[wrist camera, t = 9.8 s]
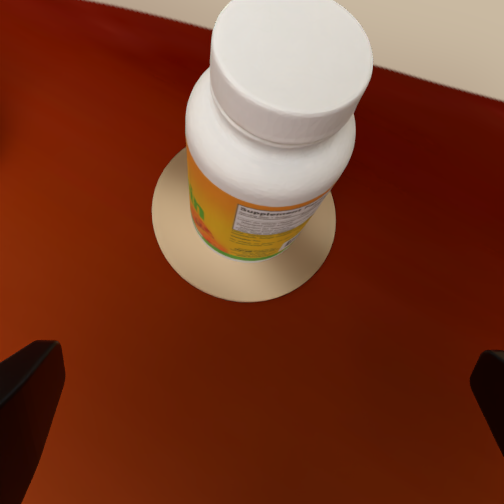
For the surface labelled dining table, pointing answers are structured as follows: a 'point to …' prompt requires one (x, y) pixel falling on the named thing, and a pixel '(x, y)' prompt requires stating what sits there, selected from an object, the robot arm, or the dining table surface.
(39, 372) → the robot arm
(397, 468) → the dining table surface
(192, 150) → the supplement bottle
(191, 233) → the mat
